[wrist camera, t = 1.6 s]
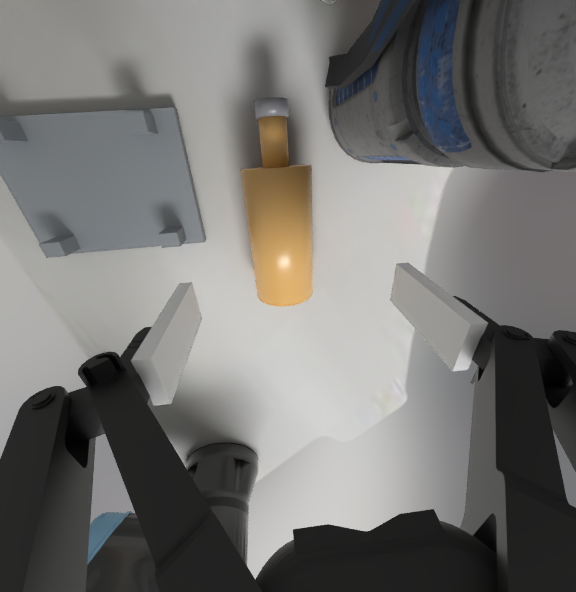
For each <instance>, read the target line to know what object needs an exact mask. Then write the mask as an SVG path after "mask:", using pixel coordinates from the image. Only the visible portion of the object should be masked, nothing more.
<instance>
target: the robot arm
mask: <svg viewBox="0 0 576 592" xmlns="http://www.w3.org/2000/svg"><path fill="white" fill-rule="evenodd" d="M390 300H391V302H392V303H393V304H394V305H395V306H396V307H397V308H398V310H399V311H400V312H401V313H402V314H403V315H404V316H405V318H406V319H407V320H408V321H409V322H410V323H411V324H412V326H413V327H414V328H415V329H416V330H417V331H418V332H419V334H420V335H421V336H422V337H423V338H424V339H425V340H426V342H427V343H428V344H429V345H430V346H431V347H432V348H433V349H434V351H435V352H436V353H437V354H438V355H439V356H440V358H441V359H442V360H443V361H444V362H445V363H446V364H447V366H448V367H449V368H450V369H451V370H452V371H460V370H468V368H469V366H470V364H471V361H472V360H473V361H474V362H475V363H476V364H477V365H478V367H477V370H476V372H475V374H474V376H473V378H472V381H471V383H472V384H473V383H474V382H475V386H474V401H473V413H472V427H471V440H470V453H469V466H468V479H467V480H468V481H467V492H466V506H465V513H464V518H463V521H462V525H461V527H460V528H458V527H456V526H453V525H451V524H448V523H445V522H442V521H439V519H438V518H437V515H436V513H435V511H434V509H432V510H425V511H418V512H411V513H404V514H399V515H397V516H396V517H394V518H392V519H390V520H389V521H387V522H385V523H383V524H382V525H380V526H378V527H376V528H374V529H373V530H371V531H368V532H365V531H359V530H354V529H349V528H343V527H339V526H334V525H321V526H314V527H307V528H300V529H294V530H293V534H294V540H292V541H290V542H289V543H287V544H285V545H284V546H283V547H281V548H280V549H279V550H278V551H277V552H275V553H274V554H273V556H272V557H271V558H270V559H269V560H268V561H267V563H266V564H265V565H264V567H263V568H262V570H261V571H260V573H259V575H258V576H257V578H256V580H255V579H254V577H253V576H252V574H251V572H250V571H249V569H248V567H247V546H248V545H247V544H248V507H249V501H250V497H251V494H252V491H253V487H254V484H255V480H256V477H257V473H258V458H257V456H256V454H255V453H254V452H253V451H252V450H250V449H249V448H247V447H244V446H241V445H237V444H231V443H219V444H212V445H208V446H205V447H202V448H200V449H198V450H196V451H195V452H194V453H192V454H191V456H190V457H189V459H188V462H187V466H186V467H185V466H184V464H183V462H182V461H181V459H180V457H179V456H178V454H177V452H176V451H175V449H174V448H173V446H172V444H171V443H170V441H169V439H168V438H167V436H166V434H165V433H164V431H163V429H162V428H161V426H160V424H159V423H158V421H157V420H156V418H155V416H154V415H153V413H152V411H151V410H150V408H149V406H148V405H147V402H148V400H149V398H150V399H151V401H152V403H153V405H154V406H157V405H165V404H172V401H173V398H174V395H175V393H176V390H177V387H178V384H179V381H180V379H181V376H182V373H183V370H184V367H185V365H186V362H187V359H188V356H189V353H190V351H191V348H192V345H193V342H194V340H195V337H196V334H197V331H198V328H199V326H200V323H201V320H202V317H201V313H200V310H199V306H198V302H197V299H196V295H195V292H194V288H193V285H192V282H191V283H180V284H179V285H178V286H177V288H176V290H175V291H174V293H173V294H172V296H171V298H170V299H169V301H168V302H167V304H166V306H165V307H164V309H163V310H162V312H161V313H160V315H159V317H158V318H157V320H156V321H155V323H154V325H153V326H152V327H145V328H143V329H142V330H141V331H140V332H138V333H137V334H136V335H135V337H134V338H133V339H132V341H131V343H130V344H129V345H128V347H127V349H126V350H125V351H124V353H123V354H122V355H121V357H119V355H118V354H117V353H115V352H106V353H101V354H99V355H96V356H94V357H92V358H90V359H89V360H87V361H86V362H85V363H84V364H82V365H81V367H80V368H79V370H78V375H79V376H80V378H81V379H82V381H83V382H84V383H85V385H86V386H87V387H85V388H82V389H79V390H76V391H73V392H70V393H68V392H67V391H66V390H65V388H63V387H61V386H54V387H50V388H47V389H44V390H42V391H39V392H38V393H36V394H35V395H33V396H31V397H30V398H29V399H28V400H27V401H26V402H24V403H23V405H22V406H21V408H20V409H19V412H18V415H17V417H16V420H15V422H14V425H13V428H12V430H11V433H10V435H9V438H8V440H7V443H6V446H5V448H4V451H3V453H2V456H1V459H0V592H576V508H575V507H573V506H571V505H569V503H568V501H567V498H566V494H565V489H564V484H563V479H562V474H561V469H560V465H559V460H558V455H557V449H556V445H555V440H554V435H553V430H554V432H555V434H556V436H557V438H558V440H559V442H560V443H561V445H562V447H563V449H564V451H565V453H566V455H567V457H568V458H569V460H570V462H571V464H572V466H573V468H574V470H575V472H576V332H569V331H561V330H558V331H554V333H553V334H552V336H551V337H550V339H540V338H533V337H532V336H531V335H530V334H529V333H527V332H525V331H524V330H522V329H519V328H516V327H513V326H506V325H502V326H500V325H498V324H497V323H496V322H494V321H493V320H491V319H490V318H488V317H487V316H486V315H485V314H483V313H482V312H479V310H478V309H476V308H475V307H473V306H472V305H471V304H469V303H468V302H467V301H465V300H463V299H460V298H458V297H456V296H452V295H450V294H449V293H448V292H446V291H445V290H444V289H442V288H441V287H440V286H438V285H437V284H436V283H434V282H433V281H432V280H430V279H429V278H428V277H426V276H425V275H424V274H422V273H421V272H420V271H418V270H417V269H416V268H414V267H413V266H412V265H410V264H409V263H399V264H396V269H395V275H394V281H393V286H392V292H391V298H390ZM572 383H573V384H572ZM552 428H553V430H552ZM102 434H106V436H107V439H108V442H109V444H110V447H111V450H112V452H113V455H114V457H115V460H116V463H117V466H118V468H119V471H120V473H121V476H122V479H123V481H124V484H125V486H126V489H127V492H128V494H129V497H130V500H131V502H132V505H133V508H134V510H135V513H132V512H131V511H129V512H126V513H119V512H106V513H103V514H101V515H99V516H98V517H96V518H95V519H94V520H93V521H92V522H91V524H90V515H91V501H92V485H93V470H94V454H95V440H96V439H95V438H96V437H97V436H100V435H102Z"/></svg>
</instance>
